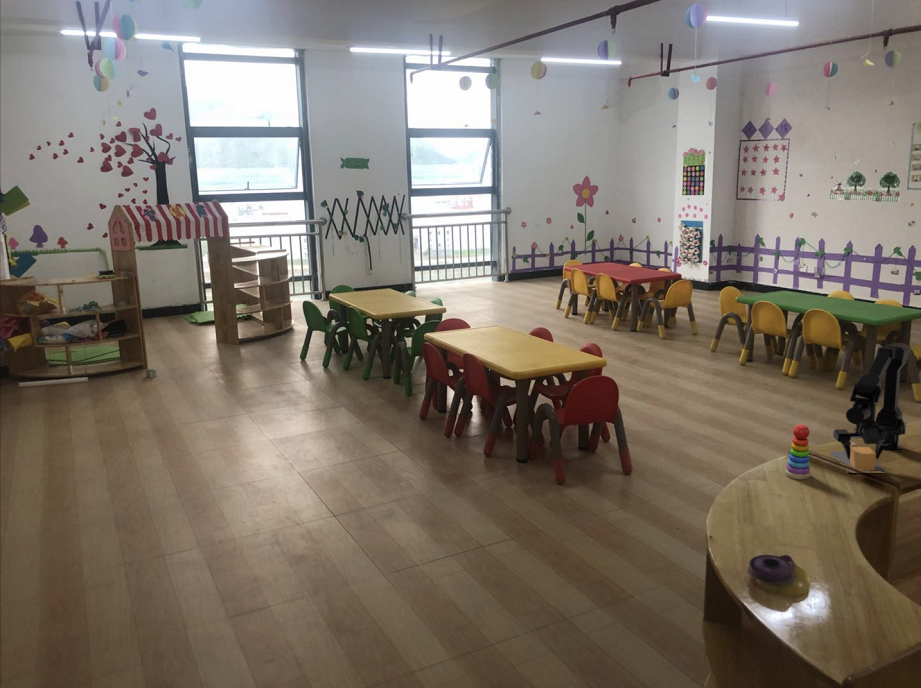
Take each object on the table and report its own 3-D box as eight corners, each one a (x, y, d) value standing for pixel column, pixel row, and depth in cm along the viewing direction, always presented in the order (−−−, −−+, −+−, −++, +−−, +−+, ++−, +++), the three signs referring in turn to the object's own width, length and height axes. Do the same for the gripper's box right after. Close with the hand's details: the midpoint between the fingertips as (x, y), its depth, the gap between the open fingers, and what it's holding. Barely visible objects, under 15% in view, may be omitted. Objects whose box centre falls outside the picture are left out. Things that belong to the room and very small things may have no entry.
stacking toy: (786, 479, 254) (789, 428, 250) (783, 470, 262) (786, 420, 257) (811, 481, 252) (814, 429, 248) (808, 471, 259) (811, 421, 255)
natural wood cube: (849, 462, 262) (851, 447, 261) (868, 463, 261) (869, 447, 260) (856, 469, 256) (857, 453, 255) (874, 469, 255) (875, 453, 254)
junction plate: (830, 453, 273) (831, 439, 272) (864, 453, 271) (865, 439, 270) (847, 473, 256) (848, 458, 255) (884, 473, 254) (886, 458, 253)
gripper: (845, 424, 248) (842, 467, 252) (905, 424, 245) (901, 467, 249) (833, 413, 259) (831, 455, 262) (891, 413, 256) (887, 455, 260)
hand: (862, 458), depth 258 cm, fingers open, 9 cm apart
